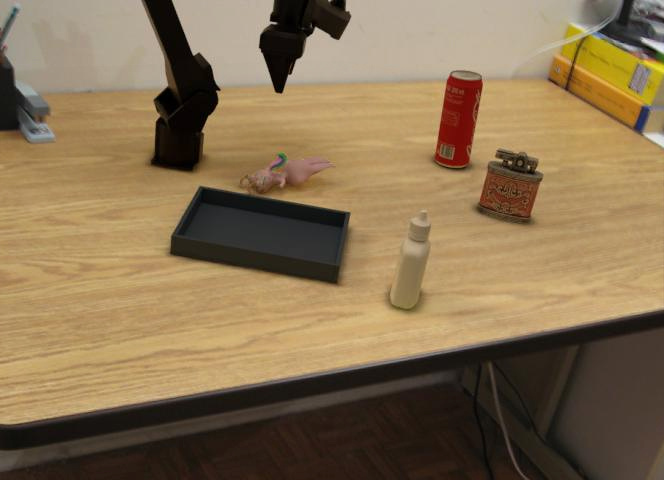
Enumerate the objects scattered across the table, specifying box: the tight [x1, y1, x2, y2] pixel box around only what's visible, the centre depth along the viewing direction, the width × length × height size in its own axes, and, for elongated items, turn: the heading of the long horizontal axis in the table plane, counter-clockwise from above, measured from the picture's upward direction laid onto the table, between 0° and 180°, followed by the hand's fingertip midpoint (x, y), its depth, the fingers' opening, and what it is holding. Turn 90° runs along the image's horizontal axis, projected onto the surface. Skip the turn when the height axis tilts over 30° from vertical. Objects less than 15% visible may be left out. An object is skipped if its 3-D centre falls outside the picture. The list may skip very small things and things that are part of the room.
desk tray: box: [169, 185, 351, 285], centre depth 114 cm, size 21×15×3 cm
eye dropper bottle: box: [389, 209, 432, 310], centre depth 104 cm, size 4×6×12 cm
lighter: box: [476, 147, 544, 224], centre depth 128 cm, size 8×3×10 cm, turn 71°
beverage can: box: [434, 69, 484, 169], centre depth 141 cm, size 6×6×15 cm
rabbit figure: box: [239, 152, 336, 195], centre depth 128 cm, size 6×6×15 cm
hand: (283, 83), depth 132 cm, fingers open, 9 cm apart
